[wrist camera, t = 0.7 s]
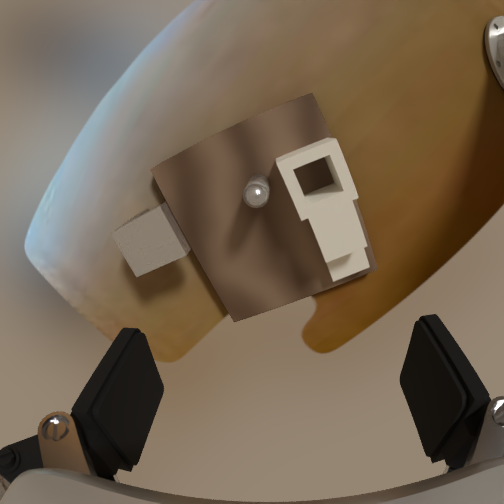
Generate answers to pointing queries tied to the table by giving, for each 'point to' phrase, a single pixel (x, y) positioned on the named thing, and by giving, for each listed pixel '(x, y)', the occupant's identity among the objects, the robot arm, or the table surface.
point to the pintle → (257, 191)
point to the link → (329, 207)
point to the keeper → (151, 240)
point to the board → (254, 210)
